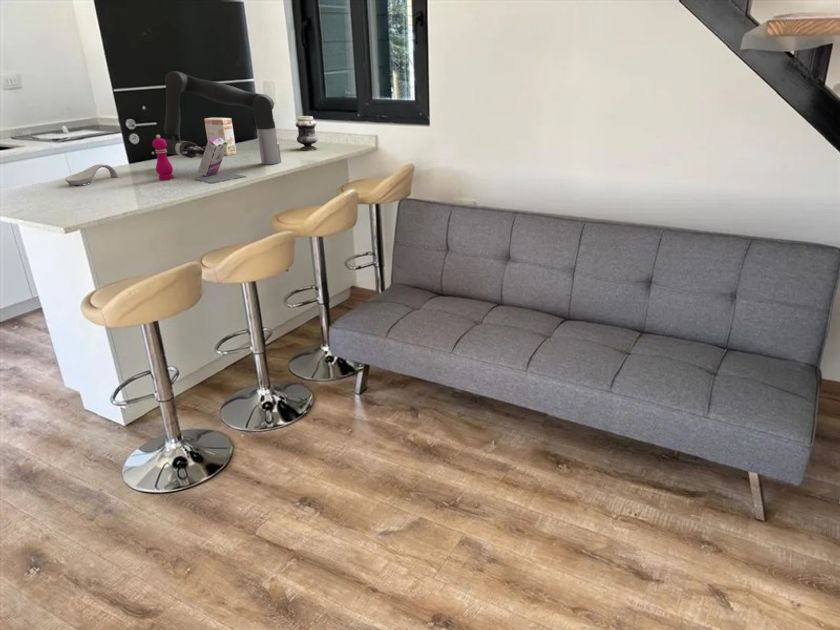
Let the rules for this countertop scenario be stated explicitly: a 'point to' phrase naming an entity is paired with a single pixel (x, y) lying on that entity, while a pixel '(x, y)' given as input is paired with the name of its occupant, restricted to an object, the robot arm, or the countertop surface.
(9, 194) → the countertop surface
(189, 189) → the countertop surface
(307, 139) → the apothecary jar
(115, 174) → the spoon rest
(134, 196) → the countertop surface
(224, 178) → the rubber mat
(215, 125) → the coffeecake box
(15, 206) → the countertop surface
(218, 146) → the candy bar box
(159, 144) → the pepper mill
